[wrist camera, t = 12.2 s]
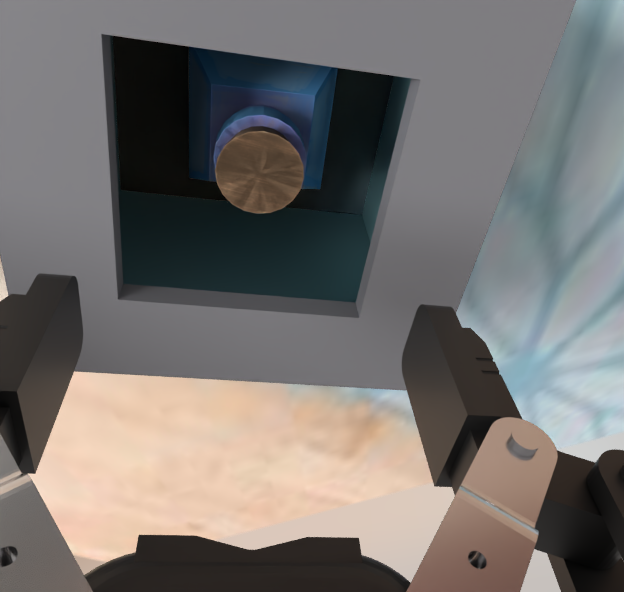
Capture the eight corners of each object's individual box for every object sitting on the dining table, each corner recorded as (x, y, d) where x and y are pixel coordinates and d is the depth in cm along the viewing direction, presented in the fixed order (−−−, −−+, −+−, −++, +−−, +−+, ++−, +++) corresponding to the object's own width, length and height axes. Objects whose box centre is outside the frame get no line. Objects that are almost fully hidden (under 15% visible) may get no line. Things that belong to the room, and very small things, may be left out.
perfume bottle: (326, 23, 28) (359, 96, 19) (311, 141, 32) (332, 253, 22) (202, 7, 27) (169, 75, 18) (200, 130, 31) (173, 242, 21)
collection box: (104, 203, 33) (23, 368, 22) (79, -148, 24) (-88, -174, 12) (374, 230, 36) (425, 391, 24) (450, -78, 26) (594, -47, 15)
